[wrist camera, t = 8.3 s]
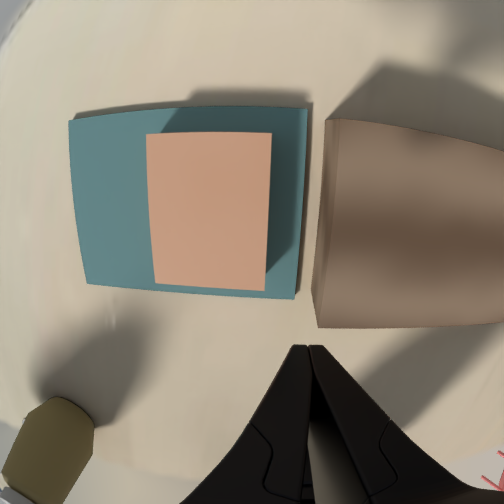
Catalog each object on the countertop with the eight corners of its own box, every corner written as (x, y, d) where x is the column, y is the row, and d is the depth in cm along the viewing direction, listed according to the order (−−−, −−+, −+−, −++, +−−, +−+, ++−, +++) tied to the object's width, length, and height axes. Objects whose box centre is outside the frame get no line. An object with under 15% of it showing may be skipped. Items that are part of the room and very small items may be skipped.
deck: (533, 291, 18) (559, 315, 15) (310, 289, 19) (317, 328, 16) (561, 174, 14) (595, 187, 11) (325, 120, 15) (340, 118, 12)
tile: (155, 283, 17) (166, 268, 19) (264, 290, 17) (265, 274, 19) (146, 134, 14) (160, 132, 16) (271, 133, 14) (271, 132, 16)
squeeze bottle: (117, 436, 28) (65, 570, 11) (74, 436, 30) (21, 546, 13) (70, 385, 25) (-11, 527, 9) (31, 390, 27) (-40, 502, 10)
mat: (294, 296, 20) (294, 299, 19) (89, 281, 20) (87, 283, 20) (306, 109, 15) (307, 109, 15) (72, 120, 16) (68, 120, 16)
